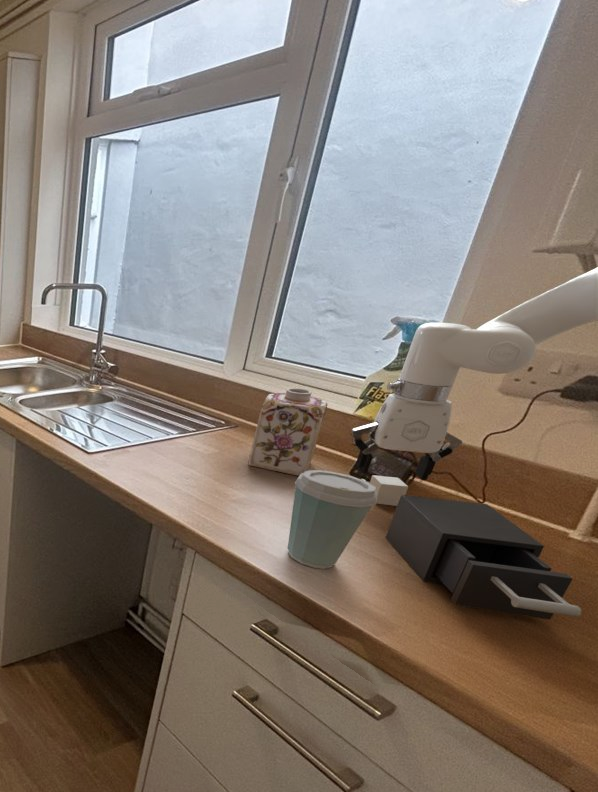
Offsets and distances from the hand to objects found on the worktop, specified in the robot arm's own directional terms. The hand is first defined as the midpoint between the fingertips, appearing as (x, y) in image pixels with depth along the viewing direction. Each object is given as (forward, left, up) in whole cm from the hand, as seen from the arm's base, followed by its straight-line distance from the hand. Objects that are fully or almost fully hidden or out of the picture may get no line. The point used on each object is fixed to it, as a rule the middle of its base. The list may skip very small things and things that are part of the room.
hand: (390, 474), depth 105 cm
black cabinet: (0, +24, -6) cm, 25 cm away
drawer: (0, +35, -5) cm, 35 cm away
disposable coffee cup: (+20, +29, -6) cm, 36 cm away
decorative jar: (+15, -15, -6) cm, 22 cm away
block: (0, 0, -6) cm, 6 cm away
